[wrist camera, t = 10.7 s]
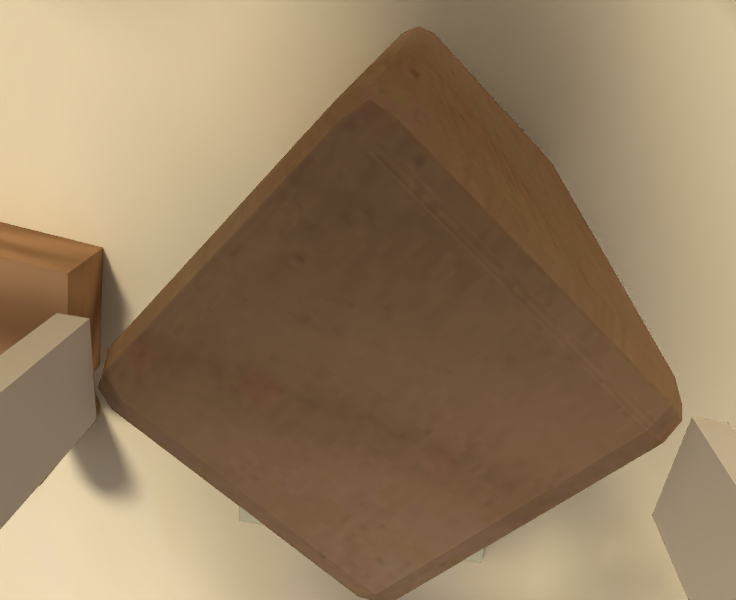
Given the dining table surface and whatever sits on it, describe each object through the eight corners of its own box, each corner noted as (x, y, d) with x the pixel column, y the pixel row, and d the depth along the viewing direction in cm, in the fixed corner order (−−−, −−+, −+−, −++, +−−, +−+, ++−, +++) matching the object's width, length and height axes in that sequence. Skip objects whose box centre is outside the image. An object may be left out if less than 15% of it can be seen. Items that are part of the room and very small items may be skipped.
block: (419, 15, 28) (366, 65, 10) (562, 172, 30) (720, 435, 13) (278, 168, 32) (63, 397, 14) (414, 297, 34) (375, 631, 17)
